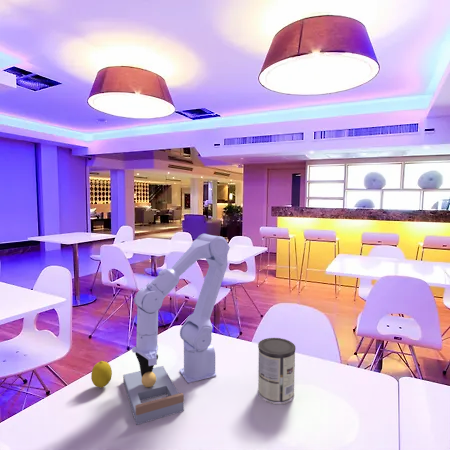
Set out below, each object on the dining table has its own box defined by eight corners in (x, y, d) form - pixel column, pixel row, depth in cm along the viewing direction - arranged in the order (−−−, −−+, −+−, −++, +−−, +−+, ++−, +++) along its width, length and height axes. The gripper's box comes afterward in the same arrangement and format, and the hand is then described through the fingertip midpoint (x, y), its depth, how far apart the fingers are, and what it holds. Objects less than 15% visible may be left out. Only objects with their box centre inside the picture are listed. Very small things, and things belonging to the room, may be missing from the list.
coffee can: (263, 379, 98) (264, 334, 97) (297, 388, 94) (299, 341, 93) (252, 398, 89) (253, 349, 88) (289, 409, 84) (290, 357, 83)
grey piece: (163, 373, 101) (162, 359, 101) (183, 410, 83) (183, 394, 83) (123, 382, 96) (123, 368, 96) (136, 424, 78) (136, 407, 78)
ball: (157, 370, 90) (156, 386, 88) (155, 372, 93) (154, 387, 91) (142, 370, 89) (141, 386, 87) (141, 372, 92) (140, 388, 90)
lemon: (105, 394, 90) (104, 367, 89) (87, 392, 91) (86, 364, 90) (115, 383, 95) (115, 357, 95) (99, 381, 97) (98, 355, 96)
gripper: (128, 324, 95) (127, 368, 96) (137, 344, 82) (136, 395, 83) (152, 321, 98) (151, 364, 99) (164, 340, 85) (163, 389, 86)
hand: (146, 378), depth 91 cm, fingers closed, pressing on ball
